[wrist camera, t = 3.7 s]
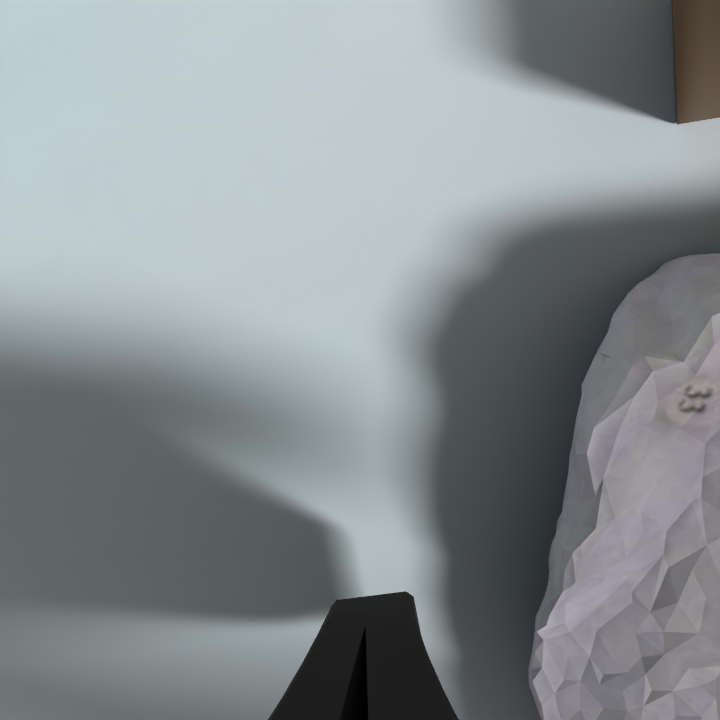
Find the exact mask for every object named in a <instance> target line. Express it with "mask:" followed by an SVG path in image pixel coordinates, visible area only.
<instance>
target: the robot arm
mask: <svg viewBox="0 0 720 720" xmlns="http://www.w3.org/2000/svg"><path fill="white" fill-rule="evenodd" d="M268 720H459V719H458V718H457V716H456V714H455V712H454V710H453V708H452V706H451V704H450V702H449V700H448V698H447V696H446V694H445V692H444V690H443V688H442V686H441V684H440V681H439V679H438V677H437V675H436V672H435V670H434V668H433V666H432V663H431V661H430V659H429V656H428V654H427V651H426V649H425V646H424V643H423V640H422V637H421V633H420V628H419V623H418V618H417V612H416V607H415V602H414V597H413V596H412V595H410V594H409V593H407V592H398V593H390V594H382V595H374V596H366V597H358V598H350V599H342V600H336V602H335V603H334V604H333V605H332V607H331V609H330V611H329V613H328V615H327V617H326V619H325V621H324V623H323V625H322V627H321V629H320V631H319V633H318V635H317V637H316V639H315V641H314V642H313V644H312V646H311V648H310V650H309V652H308V654H307V655H306V657H305V659H304V661H303V663H302V665H301V666H300V668H299V670H298V671H297V673H296V675H295V677H294V678H293V680H292V682H291V683H290V685H289V687H288V689H287V690H286V692H285V694H284V695H283V697H282V699H281V700H280V702H279V704H278V705H277V707H276V708H275V710H274V711H273V713H272V714H271V716H270V718H269V719H268Z"/></svg>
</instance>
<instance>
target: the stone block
mask: <svg viewBox="0 0 720 720" xmlns="http://www.w3.org/2000/svg"><path fill="white" fill-rule="evenodd" d="M581 389H582V396H581V401H580V405H579V409H578V413H577V417H576V423H575V430H574V436H573V443H572V447H571V451H570V458H569V471H568V477H567V482H566V488H565V494H564V499H563V508H562V513H561V515H560V517H559V519H558V520H557V529H556V535H555V537H554V539H553V542H552V544H551V550H550V555H549V560H548V562H549V580H548V585H547V589H546V593H545V596H544V599H543V601H542V604H541V606H540V608H539V610H538V612H537V615H536V617H535V632H534V640H533V647H532V653H531V658H530V663H529V668H528V671H529V687H530V690H531V693H532V695H533V698H534V701H535V704H536V707H537V709H538V712H539V715H540V717H541V720H720V253H710V254H696V255H686V256H682V257H678V258H676V259H673V260H670V261H668V262H665V263H664V264H663V265H662V266H661V267H660V268H659V269H658V270H657V271H656V272H655V273H653V274H652V275H650V276H649V277H647V278H646V279H644V280H643V281H641V282H639V283H638V284H637V285H636V286H635V287H634V288H633V289H632V290H631V291H630V292H629V293H628V294H627V295H626V297H625V298H624V300H623V301H622V302H621V304H620V305H619V307H618V308H617V309H616V311H615V313H614V314H613V316H612V318H611V322H610V326H609V329H608V333H607V334H606V336H605V338H604V340H603V342H602V343H601V345H600V347H599V349H598V351H597V353H596V355H595V357H594V359H593V361H592V363H591V365H590V368H589V370H588V372H587V374H586V376H585V379H584V381H583V383H582V385H581Z"/></svg>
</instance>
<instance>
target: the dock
mask: <svg viewBox="0 0 720 720" xmlns="http://www.w3.org/2000/svg"><path fill="white" fill-rule="evenodd" d="M672 5H673V31H674V57H675V83H676V109H677V124H682V123H688V122H694V121H700V120H706V119H712V118H717V117H720V0H672Z"/></svg>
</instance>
